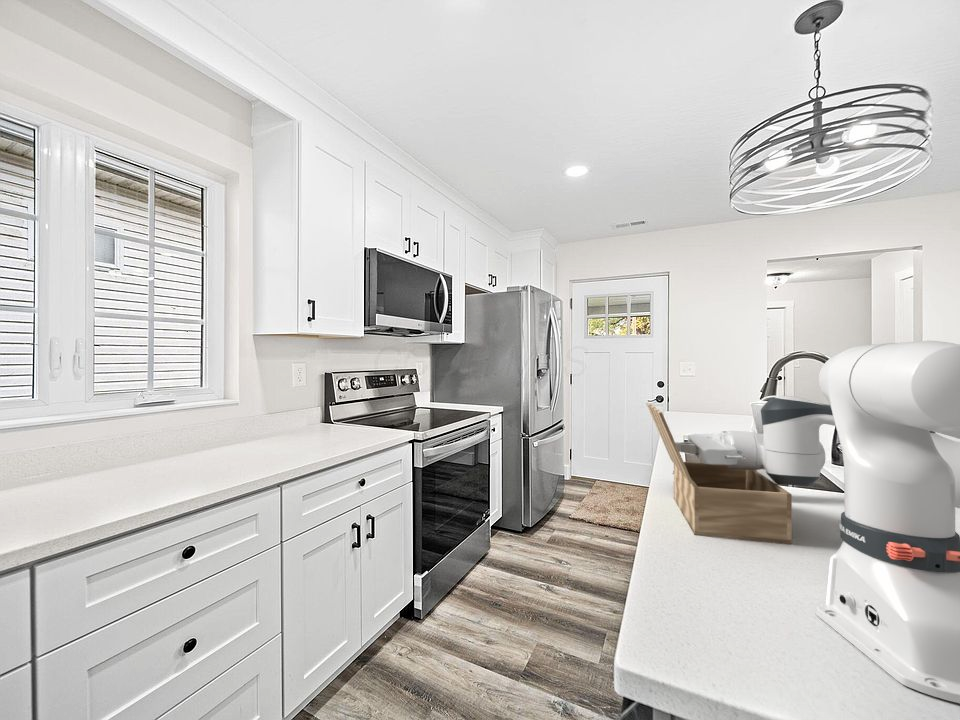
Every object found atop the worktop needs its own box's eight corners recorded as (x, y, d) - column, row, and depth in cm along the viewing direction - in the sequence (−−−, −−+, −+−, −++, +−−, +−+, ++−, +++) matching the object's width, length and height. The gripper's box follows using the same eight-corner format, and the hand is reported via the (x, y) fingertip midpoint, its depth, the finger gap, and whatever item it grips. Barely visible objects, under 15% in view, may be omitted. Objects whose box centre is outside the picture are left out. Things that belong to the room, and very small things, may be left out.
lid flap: (661, 412, 95) (659, 413, 95) (692, 482, 93) (689, 483, 93) (648, 402, 119) (646, 403, 119) (672, 458, 117) (670, 459, 117)
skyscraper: (773, 495, 122) (773, 394, 123) (788, 504, 114) (788, 396, 115) (740, 493, 124) (740, 394, 124) (753, 502, 116) (753, 396, 116)
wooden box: (791, 544, 88) (791, 494, 88) (694, 534, 92) (694, 487, 92) (748, 504, 113) (748, 465, 113) (673, 498, 118) (673, 461, 118)
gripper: (749, 474, 93) (678, 469, 97) (726, 455, 112) (668, 451, 116) (749, 444, 93) (678, 440, 97) (726, 430, 112) (668, 428, 116)
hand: (672, 446), depth 107 cm, fingers closed, pressing on lid flap
